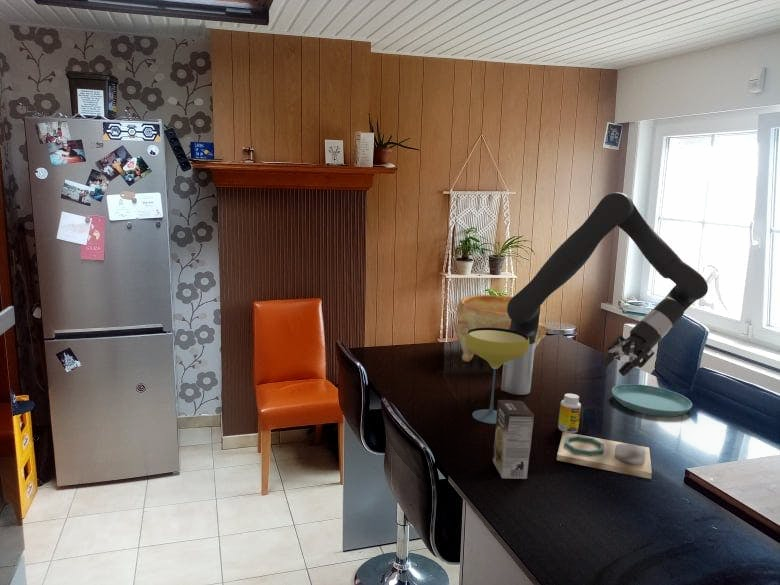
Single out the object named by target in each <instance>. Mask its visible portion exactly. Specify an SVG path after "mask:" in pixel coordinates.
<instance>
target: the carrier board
mask: <svg viewBox="0 0 780 585" xmlns="http://www.w3.org/2000/svg"><path fill="white" fill-rule="evenodd" d="M561 434H562V435H561V439H560V441H559V442H560V443H559V446H558V451H557V453H556V454H557V455H556V461H560V462H564V463H569V464H574V465H579V466H585V467H590V468H594V469H600V470H603V471H604V470H605V471H610V472H614V473H618V474H623V475H624V474H625V475H628V476H629V475H630V476H634V477H638V478H644V479H649V480H652V476H653V475H652V474H653V471H652V463H651V462H652V461H651V453H650V447H647V446H643V445H637V444H632V443H625V442H622V441H616V440H610V439H604V438H598V437H594V436H588V435H582V434H578V433H567V432H563V431H562V433H561Z"/></svg>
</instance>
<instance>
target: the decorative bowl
mask: <svg viewBox="0 0 780 585" xmlns="http://www.w3.org/2000/svg"><path fill="white" fill-rule="evenodd" d="M512 297H513V296H512ZM512 297H511V296H505V295H496V294H495V295H493V294H483V295H481V294H480V295H471V296H466V297H464V298H462V299H461V300H459V303H458V304H457V307H456V317H457V319H458V321H459V322H458V323H456V324H454V326H453V328H454V329H456V334H457V340H458V341H459V342H460V347H461V349H462V354H461V355H462V356H461V358H462V361H463V362H466V363H469V362H471V361H472V359H473V357H474V356H475V355H476V354H475V353H473V352H472V351H471V350H470V349H469V348H468V347H467V345H466V334H467V332H468V331H469V330H471V329H474V328H502V329H509V328H510V325H511V319H510V317H509V316H508V313H507V306H508V303H509V301H510V299H511V298H512ZM540 321H541V316H540V317H539V325H538V331H537V335H536V339H535V348H534V351H535V350H536V347H537V346H538V345H539V344H540V343H541V339H544V338H545V336H546V334H547V326H546V325H545V324H543V323H541V322H540Z"/></svg>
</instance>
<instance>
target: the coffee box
mask: <svg viewBox="0 0 780 585" xmlns="http://www.w3.org/2000/svg"><path fill="white" fill-rule="evenodd" d="M496 411H497V418H496V424H495V430H494V431H495V432H494V440H493V442H494V443H493V455H492V456H493V457H492V462H493V465H494V466H495V468H496V470H497V472H498V474H499V475H500V477H501V479H514V480H515V479H518V480H519V479H521V480H526V479H528V471H529V463H530V453H531V448H532V447H531V445H532V435H533V429H534V428H533V427H534V418H535V417H534V416H535V414H534V413H533V412H532V411H531V410H530V408H529V407H528V406H527V405H526V403H525V402H524V400H513V399H498V400H497V409H496Z"/></svg>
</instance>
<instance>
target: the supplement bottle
mask: <svg viewBox="0 0 780 585" xmlns="http://www.w3.org/2000/svg"><path fill="white" fill-rule="evenodd" d="M563 397H564V398H563V399H562V400H561V401H560V406H559V407H560V408H559V414H558V424H557V426H558V427H557V428H558V429H559V431H561V432H562V433H563V432H567V433H572V434H576V433H578V431H579V424H580V418H581V411H582V404H581V403H580V402H579V401H580V396H579V395H578V394H574V393H565V394H564V396H563Z"/></svg>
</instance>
